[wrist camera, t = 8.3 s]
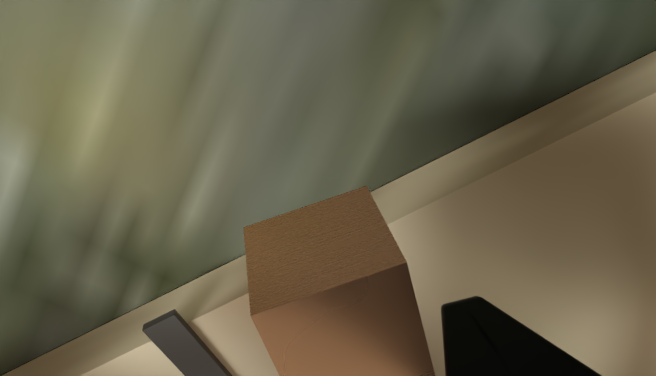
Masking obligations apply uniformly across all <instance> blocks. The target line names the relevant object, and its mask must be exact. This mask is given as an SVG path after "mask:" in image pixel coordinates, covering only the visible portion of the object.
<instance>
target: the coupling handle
mask: <svg viewBox="0 0 656 376" xmlns="http://www.w3.org/2000/svg"><path fill="white" fill-rule="evenodd" d="M244 239H245V252H246V265H247V277H248V290H249V303H250V316H251V318H252V320H253V322H254V324H255V326H256V328H257V330H258V332H259V335H260V337H261V339H262V341H263V343H264V345H265V347H266V349H267V351H268V353H269V355H270V357H271V359H272V361H273V363H274V365H275V368H276V370H277V372H278V374H279V376H435V372H434V368H433V364H432V360H431V356H430V352H429V348H428V344H427V340H426V336H425V332H424V328H423V324H422V320H421V316H420V312H419V308H418V305H417V301H416V297H415V293H414V289H413V285H412V281H411V277H410V273H409V269H408V265H407V262H406V260H405V258H404V256H403V254H402V252H401V250H400V248H399V246H398V245H397V243H396V241H395V239H394V237H393V235H392V233H391V231H390V229H389V227H388V226H387V224H386V222H385V220H384V218H383V216H382V214H381V212H380V210H379V209H378V207H377V205H376V203H375V201H374V199H373V197H372V195H371V193H370V191H369V190H368V188H367V186H364V187H362V188H359V189H356V190H353V191H350V192H347V193H344V194H341V195H338V196H335V197H332V198H329V199H326V200H323V201H320V202H317V203H314V204H311V205H308V206H305V207H302V208H300V209H297V210H294V211H291V212H288V213H285V214H282V215H279V216H276V217H273V218H270V219H267V220H264V221H261V222H258V223H255V224H252V225H249V226H246V227H244Z"/></svg>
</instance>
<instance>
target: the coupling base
mask: <svg viewBox="0 0 656 376" xmlns="http://www.w3.org/2000/svg"><path fill="white" fill-rule="evenodd" d="M370 193H371V195H372V197H373V199H374V201H375V203H376V205H377V207H378V209H379V210H380V212H381V214H382V216H383V218H384V220H385V222H386V224H387V226H388V227H389V229H390V231H391V233H392V235H393V237H394V239H395V241H396V243H397V245H398V246H399V248H400V250H401V252H402V254H403V256H404V258H405V260H406V262H407V265H408V269H409V273H410V277H411V281H412V285H413V289H414V293H415V297H416V301H417V305H418V308H419V312H420V316H421V320H422V324H423V328H424V332H425V336H426V340H427V344H428V348H429V352H430V356H431V360H432V364H433V368H434V372H435V376H445V362H444V348H443V334H442V320H441V306H442V305H443V304H445V303H449V302H453V301H457V300H461V299H465V298H469V297H473V296H479V297H482V298H484V299H485V300H487V301H488V302H490V303H491V304H493V305H495V306H496V307H498V308H499V309H501V310H502V311H504V312H505V313H507V314H508V315H510V316H511V317H513V318H514V319H516V320H517V321H519V322H521V323H522V324H524V325H525V326H527V327H528V328H530V329H531V330H533V331H534V332H536V333H537V334H539V335H540V336H542V337H544V338H545V339H547V340H548V341H550V342H551V343H553V344H554V345H556V346H557V347H559V348H560V349H562V350H563V351H565V352H567V353H568V354H570V355H571V356H573V357H574V358H576V359H577V360H579V361H580V362H582V363H583V364H585V365H586V366H588V367H590V368H591V369H593V370H594V371H596V372H597V373H599V374H600V375H602V376H656V51H654V52H652V53H650V54H648V55H646V56H644V57H642V58H640V59H638V60H636V61H634V62H632V63H630V64H628V65H626V66H624V67H622V68H620V69H618V70H616V71H614V72H612V73H610V74H608V75H606V76H604V77H602V78H600V79H598V80H596V81H593V82H591V83H589V84H587V85H585V86H583V87H581V88H579V89H577V90H575V91H573V92H571V93H569V94H567V95H565V96H563V97H561V98H559V99H557V100H555V101H553V102H551V103H549V104H547V105H545V106H543V107H541V108H539V109H537V110H535V111H533V112H531V113H529V114H527V115H525V116H523V117H521V118H519V119H517V120H515V121H513V122H511V123H509V124H507V125H505V126H503V127H501V128H499V129H497V130H495V131H493V132H491V133H489V134H487V135H485V136H483V137H481V138H479V139H477V140H475V141H473V142H471V143H469V144H467V145H465V146H463V147H461V148H459V149H457V150H455V151H453V152H451V153H449V154H447V155H445V156H443V157H441V158H439V159H436V160H434V161H432V162H430V163H428V164H426V165H424V166H422V167H420V168H418V169H416V170H414V171H412V172H410V173H408V174H406V175H404V176H402V177H400V178H398V179H396V180H394V181H392V182H390V183H388V184H386V185H384V186H382V187H380V188H378V189H376V190H374V191H372V192H370ZM2 376H279V374H278V372H277V370H276V368H275V365H274V363H273V361H272V359H271V357H270V355H269V353H268V351H267V349H266V347H265V345H264V343H263V341H262V339H261V337H260V335H259V332H258V330H257V328H256V326H255V324H254V322H253V320H252V318H251V316H250V303H249V290H248V277H247V265H246V254H245V255H243V256H241V257H239V258H237V259H235V260H233V261H231V262H229V263H227V264H225V265H223V266H221V267H219V268H217V269H215V270H213V271H211V272H209V273H207V274H205V275H203V276H201V277H199V278H197V279H195V280H193V281H191V282H189V283H187V284H185V285H183V286H181V287H179V288H177V289H175V290H173V291H171V292H169V293H167V294H165V295H163V296H161V297H159V298H157V299H155V300H153V301H151V302H149V303H147V304H145V305H143V306H141V307H139V308H137V309H135V310H133V311H131V312H129V313H127V314H124V315H122V316H120V317H118V318H116V319H114V320H112V321H110V322H108V323H106V324H104V325H102V326H100V327H98V328H96V329H94V330H92V331H90V332H88V333H86V334H84V335H82V336H80V337H78V338H76V339H74V340H72V341H70V342H68V343H66V344H64V345H62V346H60V347H58V348H56V349H54V350H52V351H50V352H48V353H46V354H44V355H42V356H40V357H38V358H36V359H34V360H32V361H30V362H28V363H26V364H24V365H22V366H20V367H18V368H16V369H14V370H12V371H10V372H8V373H6V374H4V375H2Z"/></svg>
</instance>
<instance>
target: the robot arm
mask: <svg viewBox="0 0 656 376" xmlns="http://www.w3.org/2000/svg"><path fill="white" fill-rule="evenodd" d="M441 320H442V334H443V348H444V362H445V376H602V375H600V374H599V373H597V372H596V371H594V370H593V369H591V368H590V367H588V366H586V365H585V364H583V363H582V362H580V361H579V360H577V359H576V358H574V357H573V356H571V355H570V354H568V353H567V352H565V351H563V350H562V349H560V348H559V347H557V346H556V345H554V344H553V343H551V342H550V341H548V340H547V339H545V338H544V337H542V336H540V335H539V334H537V333H536V332H534V331H533V330H531V329H530V328H528V327H527V326H525V325H524V324H522V323H521V322H519V321H517V320H516V319H514V318H513V317H511V316H510V315H508V314H507V313H505V312H504V311H502V310H501V309H499V308H498V307H496V306H495V305H493V304H491V303H490V302H488V301H487V300H485V299H484V298H482V297H479V296H473V297H469V298H465V299H461V300H457V301H453V302H449V303H445V304H443V305H442V306H441Z"/></svg>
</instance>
